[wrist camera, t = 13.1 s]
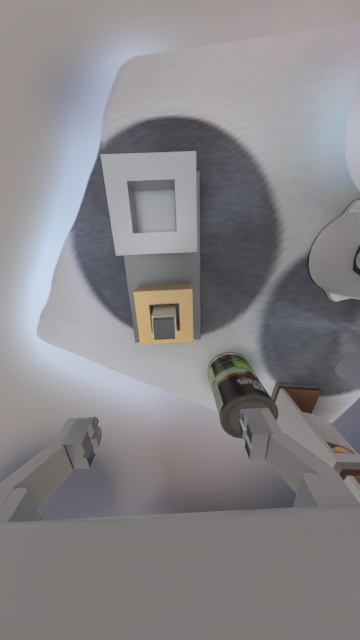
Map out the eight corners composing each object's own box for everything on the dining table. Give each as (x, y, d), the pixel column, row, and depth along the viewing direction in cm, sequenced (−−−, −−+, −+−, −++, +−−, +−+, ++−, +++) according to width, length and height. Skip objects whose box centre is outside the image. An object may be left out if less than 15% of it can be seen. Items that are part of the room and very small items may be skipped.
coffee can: (220, 345, 44) (240, 386, 31) (256, 361, 46) (290, 406, 33) (199, 379, 47) (210, 429, 34) (234, 392, 49) (257, 445, 36)
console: (198, 175, 32) (215, 126, 19) (199, 335, 43) (210, 372, 30) (115, 178, 32) (76, 130, 19) (137, 338, 43) (121, 377, 30)
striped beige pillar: (301, 418, 53) (507, 691, 20) (264, 416, 52) (417, 696, 20) (315, 385, 49) (599, 657, 16) (275, 382, 48) (490, 662, 16)
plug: (175, 300, 38) (175, 317, 28) (176, 318, 39) (177, 340, 30) (156, 301, 38) (150, 318, 28) (157, 319, 39) (152, 341, 30)
